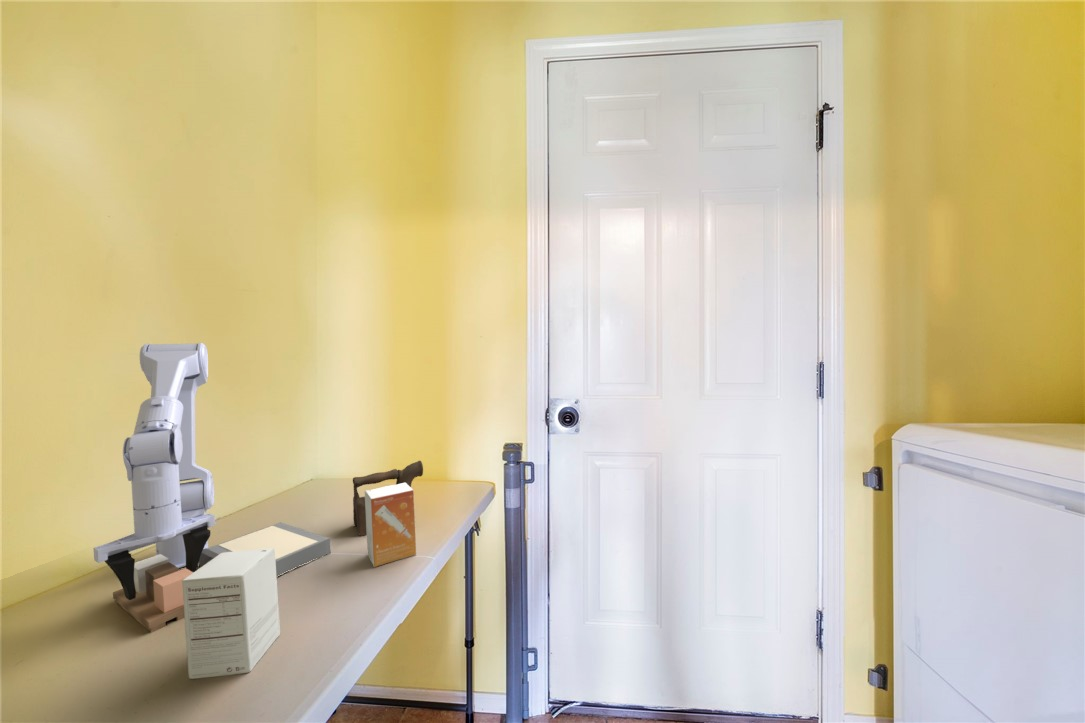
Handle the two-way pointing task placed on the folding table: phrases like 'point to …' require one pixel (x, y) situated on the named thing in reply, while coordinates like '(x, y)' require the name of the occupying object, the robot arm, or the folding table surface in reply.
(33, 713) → the folding table surface
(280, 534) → the dock
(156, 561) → the block
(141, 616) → the pallet
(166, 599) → the block
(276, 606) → the supplement box
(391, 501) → the small box
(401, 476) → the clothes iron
